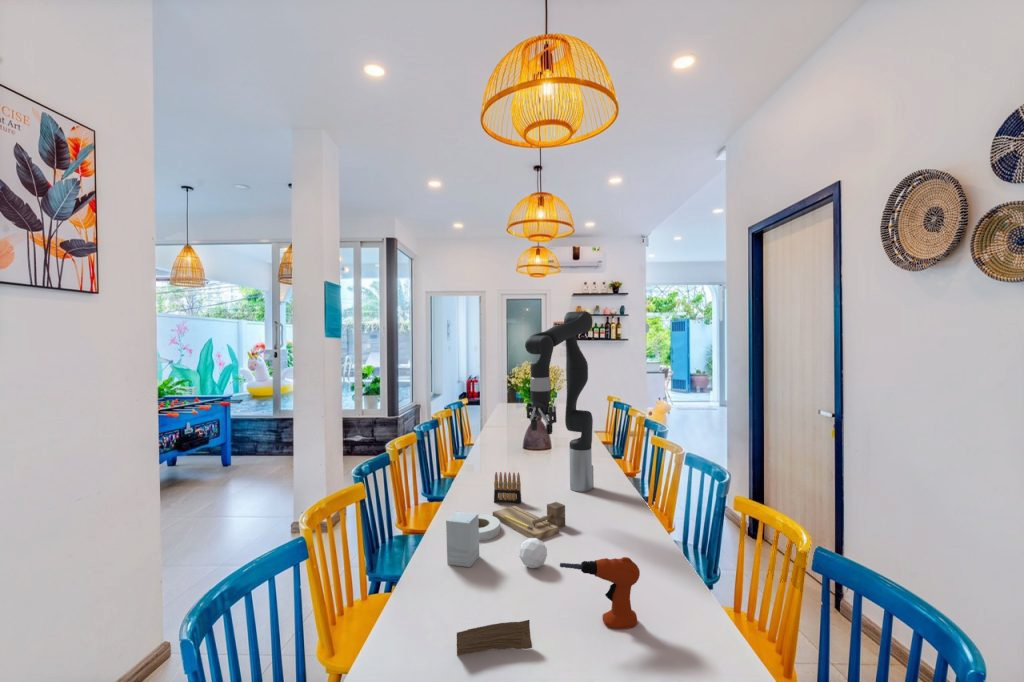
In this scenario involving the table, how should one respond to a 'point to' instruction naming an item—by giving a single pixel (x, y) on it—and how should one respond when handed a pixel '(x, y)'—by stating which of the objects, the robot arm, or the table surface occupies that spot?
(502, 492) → the ammunition clip
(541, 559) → the ball
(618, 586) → the toy drill
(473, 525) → the supplement box
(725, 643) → the table surface
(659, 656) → the table surface
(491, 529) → the roll of tape
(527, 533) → the board
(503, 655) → the table surface
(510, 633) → the wood plank
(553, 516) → the block on a post
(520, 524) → the pencil
